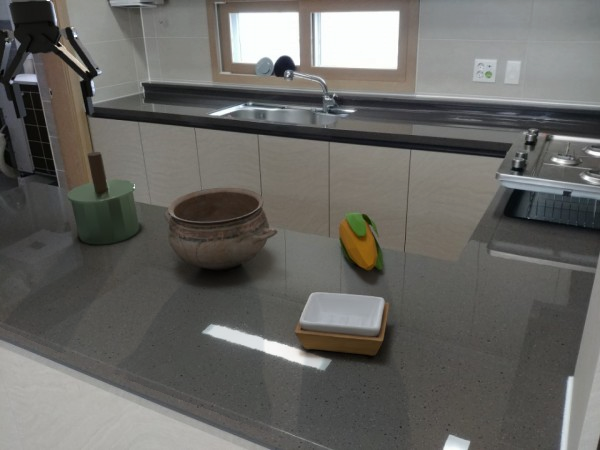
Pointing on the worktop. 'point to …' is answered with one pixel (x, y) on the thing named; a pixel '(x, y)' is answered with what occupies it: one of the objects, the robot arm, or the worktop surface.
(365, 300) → the soap dish
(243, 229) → the cooking pot
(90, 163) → the tin lid
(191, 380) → the worktop surface
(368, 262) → the corn
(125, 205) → the tin
